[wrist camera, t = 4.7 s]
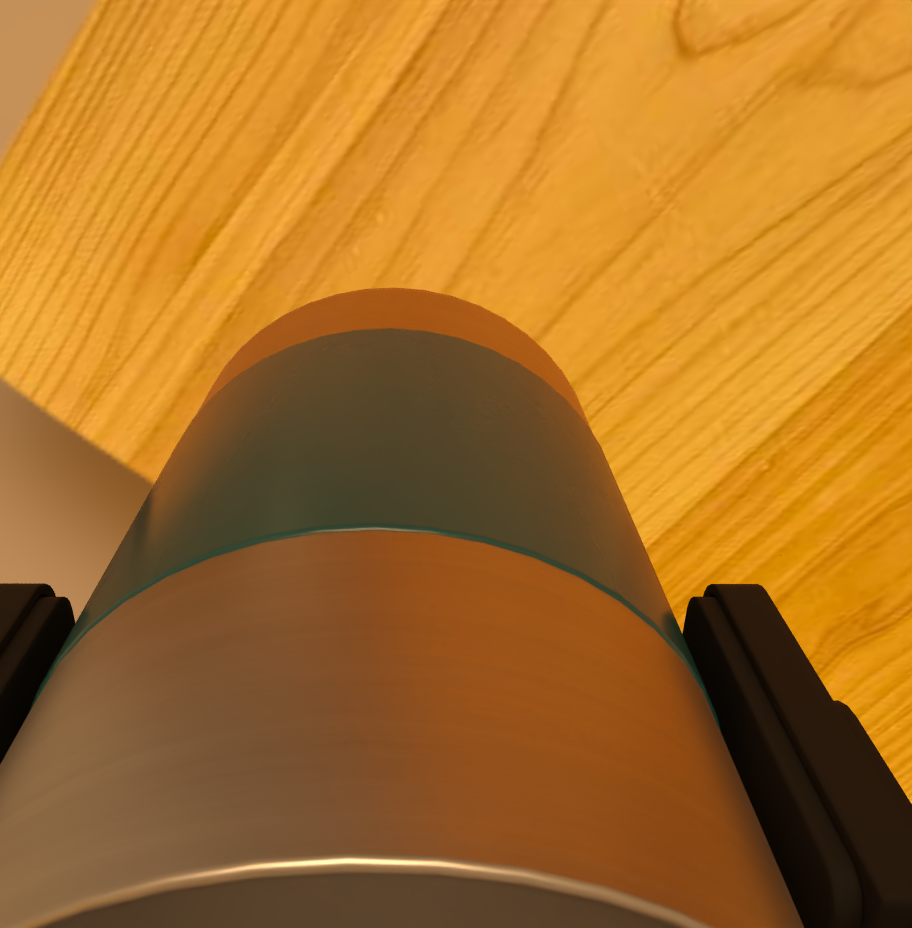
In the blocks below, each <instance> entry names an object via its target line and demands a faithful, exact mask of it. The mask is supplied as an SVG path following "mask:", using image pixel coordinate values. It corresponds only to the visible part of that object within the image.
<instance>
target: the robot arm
mask: <svg viewBox="0 0 912 928" xmlns="http://www.w3.org/2000/svg"><path fill="white" fill-rule="evenodd" d="M74 625H75V620H74V615H73V610H72V607H71V604H70V601H69V600H68V598H65V597H56V596H55V593H54V591H53V589H52V588H51V586H49V585H47V584H0V764H1V762H2V760H3V759H4V757H5V755H6V753H7V752H8V750H9V748H10V746H11V744H12V743H13V741H14V739H15V737H16V736H17V734H18V732H19V730H20V728H21V727H22V725H23V723H24V721H25V719H26V718H27V716H28V713H29V711H30V708H31V706H32V703H33V701H34V698H35V696H36V693H37V691H38V689H39V687H40V685H41V683H42V682H43V680H44V678H45V676H46V675H47V673H48V671H49V669H50V668H51V666H52V664H53V662H54V661H55V659H56V657H57V655H58V653H59V652H60V650H61V648H62V646H63V645H64V643H65V641H66V639H67V638H68V636H69V634H70V632H71V631H72V629H73V627H74ZM682 635H683V637H684V640H685V642H686V644H687V647H688V649H689V651H690V653H691V656H692V658H693V660H694V663H695V665H696V667H697V670H698V672H699V674H700V676H701V679H702V681H703V683H704V686H705V688H706V690H707V693H708V695H709V697H710V700H711V702H712V705H713V707H714V709H715V712H716V714H717V716H718V719H719V723H720V727H721V732H722V736H723V739H724V741H725V744H726V746H727V748H728V751H729V753H730V755H731V758H732V760H733V762H734V765H735V767H736V769H737V772H738V774H739V776H740V779H741V781H742V783H743V786H744V788H745V790H746V793H747V795H748V797H749V800H750V802H751V804H752V807H753V809H754V811H755V814H756V816H757V818H758V821H759V823H760V825H761V828H762V830H763V832H764V835H765V837H766V839H767V842H768V844H769V846H770V849H771V851H772V853H773V856H774V858H775V860H776V863H777V865H778V867H779V870H780V872H781V874H782V877H783V879H784V881H785V884H786V886H787V888H788V891H789V893H790V895H791V898H792V900H793V902H794V905H795V907H796V909H797V912H798V914H799V916H800V919H801V921H802V923H803V926H804V928H912V804H911V803H910V801H909V799H908V798H907V796H906V795H905V793H904V791H903V790H902V788H901V787H900V785H899V784H898V782H897V780H896V779H895V777H894V776H893V774H892V772H891V771H890V769H889V768H888V766H887V764H886V763H885V761H884V760H883V758H882V757H881V755H880V753H879V752H878V750H877V749H876V747H875V745H874V744H873V742H872V741H871V739H870V738H869V736H868V734H867V733H866V731H865V730H864V728H863V726H862V725H861V723H860V722H859V720H858V718H857V717H856V716H855V714H854V713H853V712H852V711H851V709H850V708H849V707H848V706H847V705H845V704H844V703H842V702H840V701H833V699H832V698H831V696H830V695H829V693H828V691H827V690H826V688H825V686H824V685H823V683H822V681H821V680H820V678H819V677H818V675H817V673H816V672H815V670H814V668H813V667H812V665H811V663H810V662H809V660H808V659H807V657H806V655H805V654H804V652H803V650H802V649H801V647H800V645H799V644H798V642H797V641H796V639H795V637H794V636H793V634H792V632H791V631H790V629H789V627H788V626H787V624H786V623H785V621H784V619H783V618H782V616H781V614H780V613H779V611H778V609H777V608H776V606H775V605H774V603H773V601H772V600H771V598H770V596H769V595H768V593H767V591H766V590H765V589H764V588H763V587H762V586H761V585H758V584H711V585H709V586H707V588H706V590H705V592H704V595H703V597H692V598H691V599H690V601H689V604H688V607H687V612H686V618H685V623H684V629H683V634H682Z"/></svg>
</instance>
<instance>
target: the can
mask: <svg viewBox="0 0 912 928" xmlns="http://www.w3.org/2000/svg"><path fill="white" fill-rule="evenodd" d="M0 928H804V926H803V923H802V921H801V919H800V916H799V914H798V912H797V909H796V907H795V905H794V902H793V900H792V898H791V895H790V893H789V891H788V888H787V886H786V884H785V881H784V879H783V877H782V874H781V872H780V870H779V867H778V865H777V863H776V860H775V858H774V856H773V853H772V851H771V849H770V846H769V844H768V842H767V839H766V837H765V835H764V832H763V830H762V828H761V825H760V823H759V821H758V818H757V816H756V814H755V811H754V809H753V807H752V804H751V802H750V800H749V797H748V795H747V793H746V790H745V788H744V786H743V783H742V781H741V779H740V776H739V774H738V772H737V769H736V767H735V765H734V762H733V760H732V758H731V755H730V753H729V751H728V748H727V746H726V744H725V741H724V739H723V736H722V732H721V727H720V723H719V719H718V716H717V714H716V712H715V709H714V707H713V705H712V702H711V700H710V697H709V695H708V693H707V690H706V688H705V686H704V683H703V681H702V679H701V676H700V674H699V672H698V670H697V667H696V665H695V663H694V660H693V658H692V656H691V653H690V651H689V649H688V647H687V644H686V642H685V640H684V637H683V635H682V633H681V630H680V628H679V626H678V623H677V621H676V619H675V617H674V614H673V612H672V610H671V607H670V605H669V603H668V600H667V598H666V596H665V593H664V591H663V589H662V587H661V584H660V582H659V580H658V577H657V575H656V573H655V570H654V568H653V566H652V563H651V561H650V559H649V557H648V554H647V552H646V550H645V547H644V545H643V543H642V540H641V538H640V536H639V533H638V531H637V529H636V527H635V524H634V522H633V520H632V517H631V515H630V513H629V510H628V508H627V506H626V503H625V501H624V499H623V497H622V494H621V492H620V490H619V487H618V485H617V483H616V480H615V478H614V476H613V474H612V471H611V469H610V467H609V464H608V462H607V460H606V457H605V455H604V453H603V450H602V448H601V446H600V445H599V443H598V441H597V440H596V438H595V437H594V435H593V433H592V430H591V428H590V426H589V423H588V421H587V419H586V416H585V414H584V412H583V409H582V407H581V405H580V402H579V400H578V398H577V395H576V393H575V391H574V390H573V388H572V386H571V385H570V383H569V382H568V380H567V378H566V377H565V375H564V373H563V372H562V370H561V369H560V368H559V367H558V366H557V364H556V363H555V362H554V361H553V360H552V358H551V357H550V356H549V355H548V354H547V352H546V351H545V350H544V349H542V348H541V347H540V346H539V345H538V344H537V343H536V342H535V341H534V340H533V339H531V338H530V337H529V336H528V335H527V334H526V333H524V332H523V331H522V330H520V329H519V328H517V327H516V326H514V325H513V324H511V323H510V322H508V321H507V320H506V319H504V318H502V317H500V316H498V315H496V314H494V313H492V312H490V311H489V310H487V309H485V308H483V307H481V306H479V305H476V304H473V303H470V302H467V301H464V300H462V299H459V298H456V297H453V296H449V295H444V294H440V293H435V292H430V291H426V290H416V289H404V288H378V289H363V290H358V291H352V292H347V293H341V294H336V295H333V296H330V297H327V298H324V299H320V300H317V301H314V302H311V303H308V304H306V305H304V306H302V307H300V308H298V309H296V310H294V311H292V312H289V313H287V314H285V315H283V316H282V317H280V318H279V319H277V320H276V321H274V322H273V323H271V324H270V325H268V326H267V327H265V328H264V329H262V330H261V331H260V332H258V333H257V334H256V335H255V336H254V337H253V338H252V339H250V340H249V341H248V342H247V343H246V344H245V345H244V346H242V347H241V348H240V350H239V351H238V352H237V353H236V354H235V355H234V357H233V358H232V359H231V360H230V361H229V362H228V364H227V365H226V366H225V367H224V369H223V370H222V372H221V373H220V375H219V377H218V378H217V380H216V381H215V383H214V385H213V386H212V388H211V389H210V391H209V393H208V395H207V397H206V398H205V400H204V402H203V404H202V405H201V407H200V409H199V411H198V413H197V414H196V416H195V417H194V418H193V420H192V421H191V423H190V424H189V426H188V428H187V429H186V431H185V432H184V434H183V436H182V437H181V439H180V440H179V442H178V444H177V445H176V447H175V449H174V451H173V452H172V454H171V456H170V458H169V459H168V461H167V463H166V465H165V466H164V468H163V470H162V472H161V474H160V475H159V477H158V479H157V481H156V482H155V484H154V486H153V488H152V489H151V491H150V493H149V495H148V497H147V498H146V500H145V502H144V504H143V506H142V507H141V509H140V511H139V512H138V514H137V516H136V518H135V520H134V521H133V523H132V525H131V526H130V528H129V530H128V532H127V534H126V535H125V537H124V539H123V541H122V542H121V544H120V546H119V548H118V549H117V551H116V553H115V555H114V556H113V558H112V560H111V562H110V564H109V565H108V567H107V569H106V571H105V572H104V574H103V576H102V578H101V580H100V581H99V583H98V585H97V587H96V588H95V590H94V592H93V594H92V595H91V597H90V599H89V601H88V602H87V604H86V606H85V608H84V610H83V611H82V613H81V615H80V616H79V618H78V620H77V622H76V624H75V625H74V627H73V629H72V631H71V632H70V634H69V636H68V638H67V639H66V641H65V643H64V645H63V646H62V648H61V650H60V652H59V653H58V655H57V657H56V659H55V661H54V662H53V664H52V666H51V668H50V669H49V671H48V673H47V675H46V676H45V678H44V680H43V682H42V683H41V685H40V687H39V689H38V691H37V693H36V696H35V698H34V701H33V703H32V706H31V708H30V711H29V713H28V716H27V718H26V719H25V721H24V723H23V725H22V727H21V728H20V730H19V732H18V734H17V736H16V737H15V739H14V741H13V743H12V744H11V746H10V748H9V750H8V752H7V753H6V755H5V757H4V759H3V760H2V762H1V764H0Z"/></svg>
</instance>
